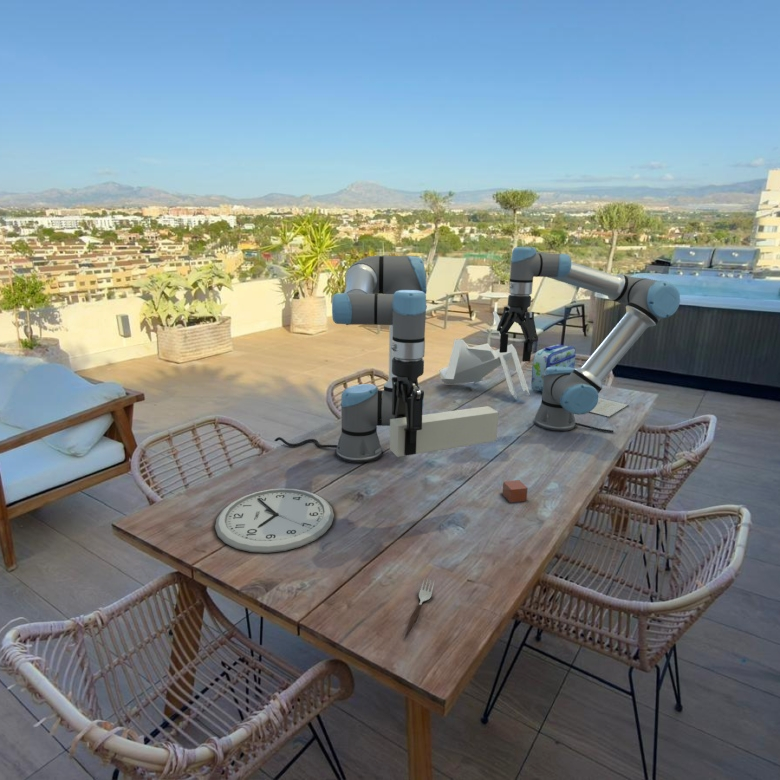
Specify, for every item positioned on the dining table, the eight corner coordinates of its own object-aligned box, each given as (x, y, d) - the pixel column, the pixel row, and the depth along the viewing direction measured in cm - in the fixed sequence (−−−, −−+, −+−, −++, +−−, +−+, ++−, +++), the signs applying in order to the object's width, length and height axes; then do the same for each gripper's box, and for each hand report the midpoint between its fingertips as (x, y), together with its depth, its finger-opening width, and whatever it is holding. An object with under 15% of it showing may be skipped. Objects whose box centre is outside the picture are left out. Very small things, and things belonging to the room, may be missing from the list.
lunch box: (547, 397, 237) (552, 352, 231) (526, 391, 245) (531, 348, 238) (574, 386, 255) (580, 344, 249) (554, 381, 262) (559, 340, 256)
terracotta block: (518, 492, 152) (519, 479, 150) (526, 500, 147) (527, 488, 146) (502, 494, 151) (503, 481, 149) (509, 502, 146) (511, 489, 145)
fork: (398, 636, 97) (399, 628, 97) (423, 584, 111) (423, 576, 111) (412, 640, 96) (412, 631, 96) (435, 587, 111) (435, 579, 110)
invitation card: (608, 416, 214) (573, 407, 224) (608, 416, 214) (573, 408, 224) (628, 404, 229) (594, 396, 238) (628, 405, 229) (594, 397, 238)
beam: (486, 434, 140) (488, 406, 138) (496, 441, 136) (498, 412, 133) (389, 449, 130) (389, 419, 128) (397, 457, 126) (397, 426, 123)
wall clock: (332, 544, 122) (200, 548, 120) (332, 550, 123) (201, 555, 120) (334, 484, 151) (228, 486, 148) (334, 489, 151) (228, 491, 149)
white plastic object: (461, 429, 252) (437, 405, 227) (444, 352, 274) (420, 323, 250) (535, 404, 240) (518, 377, 215) (510, 326, 262) (492, 293, 237)
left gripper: (379, 350, 128) (378, 438, 135) (409, 368, 113) (406, 467, 119) (407, 348, 131) (404, 434, 138) (440, 366, 115) (435, 462, 122)
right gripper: (489, 290, 184) (485, 349, 191) (533, 300, 162) (527, 366, 169) (507, 290, 187) (503, 348, 193) (553, 299, 165) (546, 364, 171)
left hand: (405, 449), depth 129 cm, fingers closed on beam, 5 cm apart
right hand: (514, 356), depth 181 cm, fingers open, 13 cm apart
